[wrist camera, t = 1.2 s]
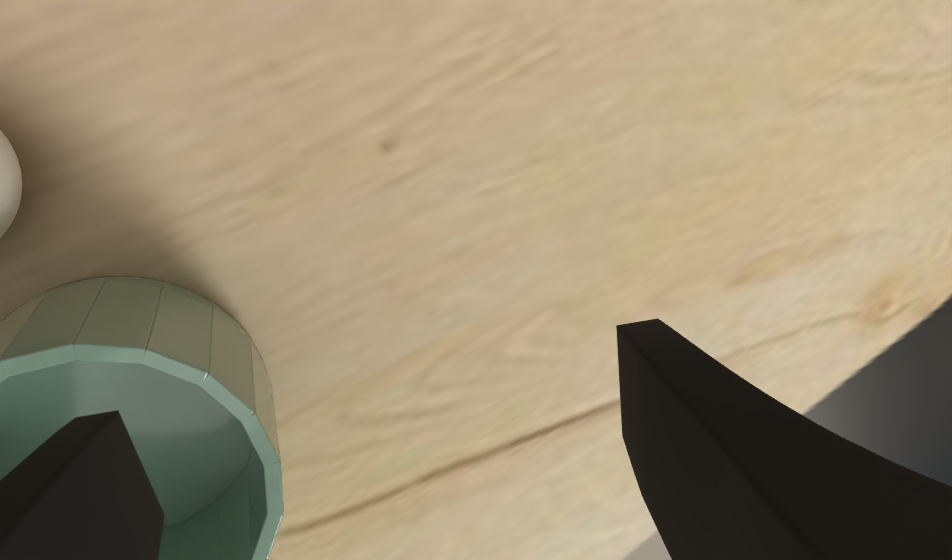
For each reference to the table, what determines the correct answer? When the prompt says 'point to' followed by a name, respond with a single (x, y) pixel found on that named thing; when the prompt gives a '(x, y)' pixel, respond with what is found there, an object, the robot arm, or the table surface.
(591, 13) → the table surface
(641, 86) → the table surface
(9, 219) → the off-white sphere
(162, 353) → the waste bin
